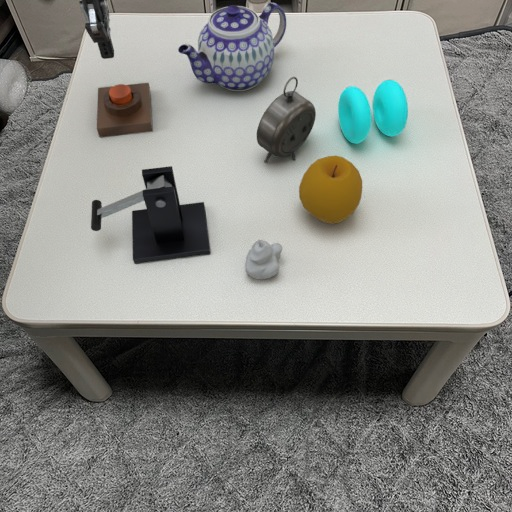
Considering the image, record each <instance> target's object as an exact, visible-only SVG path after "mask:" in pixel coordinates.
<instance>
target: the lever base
mask: <svg viewBox="0 0 512 512" xmlns="http://www.w3.org/2000/svg"><path fill="white" fill-rule="evenodd" d="M162 175H164V176H165V177H166V179H167V180H168V181H169V182H170V183H171V184H172V187H163V188H155V189H147V182H148V181H150V180H153V179H155V178H157V177H160V176H162ZM141 177H142V179H143V183H144V187H145V189H147V190H145V189H142V191H143V198H144V201H143V202H144V205H145V208H144V209H143V208H142V209H135V210H131V224H132V225H131V231H132V233H131V234H132V237H131V238H132V261H133V264H134V265H138V264H145V263H152V262H159V261H160V262H161V261H167V260H168V261H169V260H174V259H183V258H190V257H191V258H192V257H199V256H206V255H211V248H210V239H209V230H208V222H207V214H206V207H205V202H204V201H201V202H192V203H185V204H181V203H180V198H179V193H178V187H177V183H176V177H175V174H174V168H173V166H172V165H170V166H161V167H153V168H152V167H151V168H144V169H141Z"/></svg>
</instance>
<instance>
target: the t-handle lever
mask: <svg viewBox="0 0 512 512" xmlns="http://www.w3.org/2000/svg"><path fill="white" fill-rule="evenodd" d="M163 187H172V184H171V183H170V182H169V181H168V180H167V179H166V177H165V176H164V175H162V176H160V177H157V178H155V179H153V180H150V181H148V182H147V189H155V188H163ZM147 189H146V188H145V189H144V190H147ZM142 202H145V201H144V198H143V190H140V191H138V192H135V193H133V194H131V195H129V196H126V197H124V198H121V199H119V200H116V201H114V202H112V203H110V204H107V205H105V206H103V203H102V201H101V200H99V199H93V200H92V201H91V216H90V229H91V231H93V232H99V231H101V230H102V219H104V218H106V217H108V216H112V215H113V214H116V213H118V212H121V211H122V210H126V209H128V208H130V207H133V206H135V205H137V204H140V203H142Z"/></svg>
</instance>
